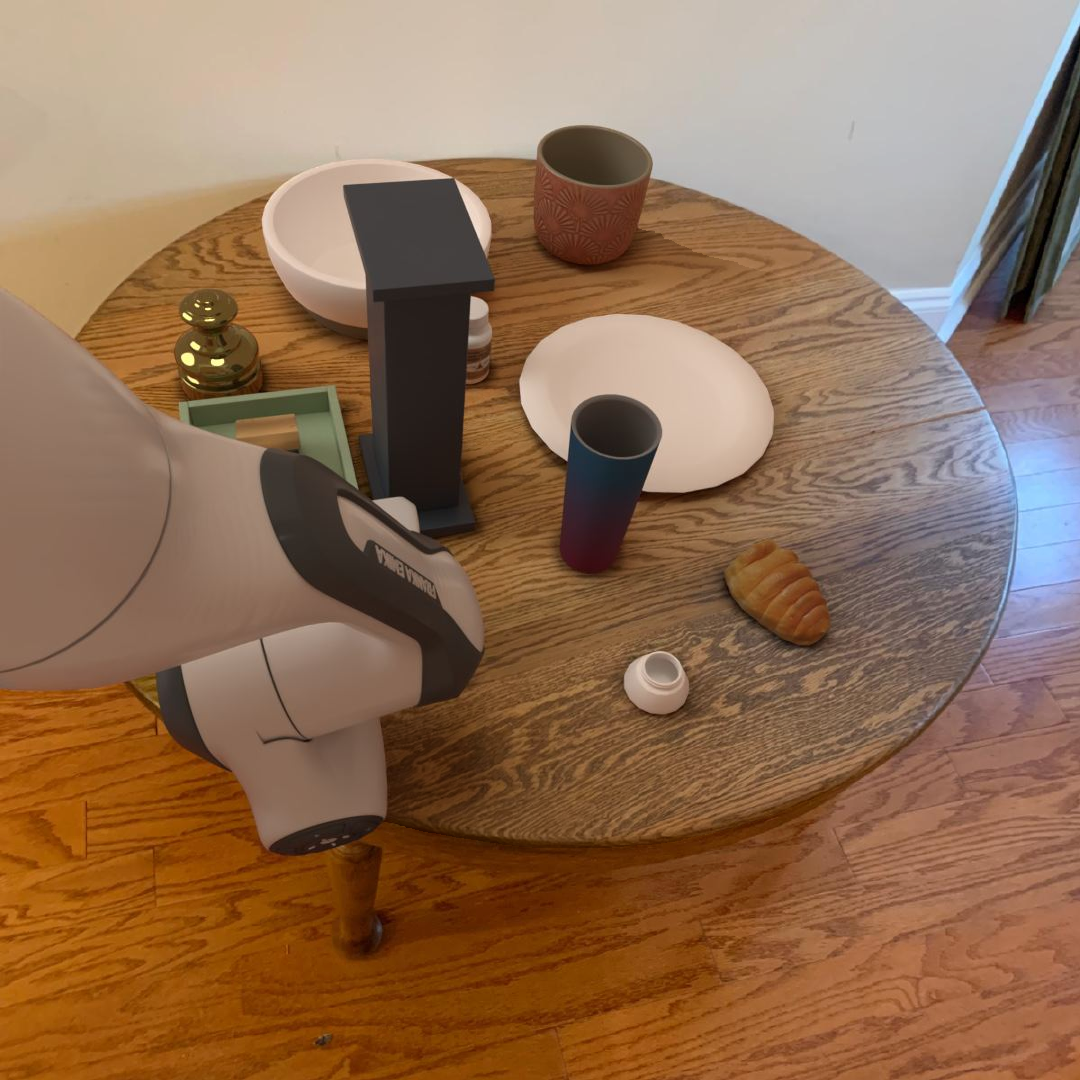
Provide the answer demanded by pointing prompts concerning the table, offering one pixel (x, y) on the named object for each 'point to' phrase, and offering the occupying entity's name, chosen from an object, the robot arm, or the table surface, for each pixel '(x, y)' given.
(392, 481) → the stand
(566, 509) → the cup
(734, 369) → the plate
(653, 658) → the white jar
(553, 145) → the planter
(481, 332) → the pill bottle
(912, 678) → the table surface
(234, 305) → the brass bell weight
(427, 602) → the robot arm
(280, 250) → the bowl
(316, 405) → the tray
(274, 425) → the brush
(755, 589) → the pastry
